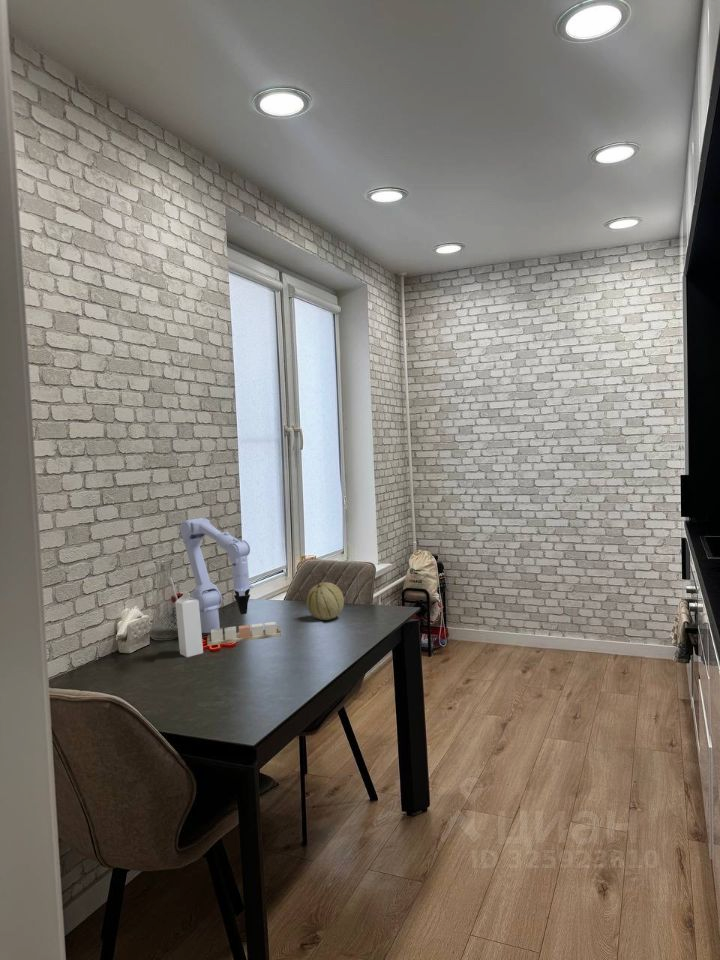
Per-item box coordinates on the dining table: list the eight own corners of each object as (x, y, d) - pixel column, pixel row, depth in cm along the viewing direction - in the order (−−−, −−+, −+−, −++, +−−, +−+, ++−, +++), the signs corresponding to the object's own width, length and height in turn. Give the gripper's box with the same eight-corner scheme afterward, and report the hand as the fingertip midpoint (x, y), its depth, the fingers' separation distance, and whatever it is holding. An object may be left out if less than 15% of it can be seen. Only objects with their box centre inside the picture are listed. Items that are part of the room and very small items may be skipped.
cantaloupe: (349, 614, 270) (346, 577, 269) (339, 624, 256) (336, 585, 255) (314, 614, 274) (311, 578, 273) (302, 624, 259) (299, 586, 259)
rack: (207, 647, 238) (207, 640, 238) (208, 641, 246) (208, 634, 246) (281, 638, 242) (280, 631, 242) (279, 632, 251) (279, 625, 251)
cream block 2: (225, 641, 241) (224, 630, 241) (225, 638, 245) (224, 627, 245) (236, 640, 242) (235, 629, 242) (236, 637, 246) (235, 626, 245)
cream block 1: (211, 643, 240) (210, 632, 240) (212, 640, 244) (211, 629, 244) (223, 641, 241) (222, 630, 241) (223, 638, 245) (222, 628, 245)
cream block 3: (252, 638, 243) (251, 627, 243) (252, 635, 247) (251, 624, 246) (263, 636, 243) (262, 625, 243) (263, 633, 247) (262, 623, 247)
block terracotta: (239, 639, 242) (238, 628, 242) (239, 636, 246) (238, 626, 246) (250, 638, 243) (250, 627, 242) (250, 635, 247) (249, 624, 246)
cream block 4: (265, 636, 244) (264, 625, 243) (265, 633, 248) (264, 622, 247) (276, 635, 244) (276, 624, 244) (276, 632, 248) (275, 621, 248)
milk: (186, 659, 226) (180, 594, 224) (180, 656, 230) (173, 592, 229) (203, 655, 229) (197, 591, 228) (196, 651, 234) (190, 589, 233)
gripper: (252, 577, 239) (255, 614, 240) (251, 570, 253) (254, 605, 254) (231, 579, 238) (235, 617, 239) (232, 572, 252) (235, 607, 253)
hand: (243, 611), depth 246 cm, fingers open, 7 cm apart
